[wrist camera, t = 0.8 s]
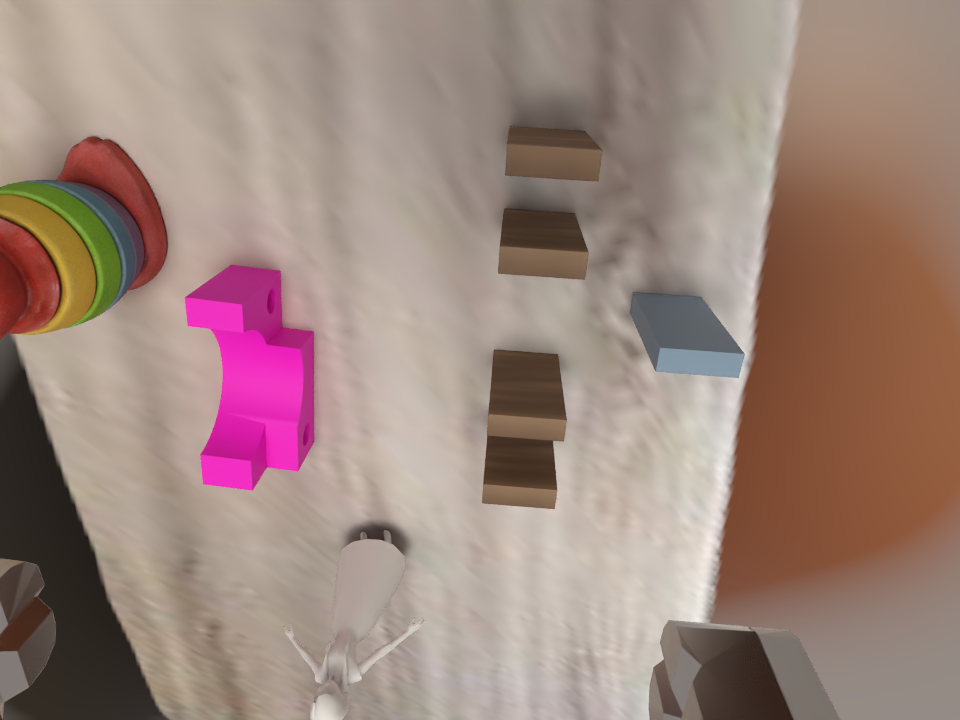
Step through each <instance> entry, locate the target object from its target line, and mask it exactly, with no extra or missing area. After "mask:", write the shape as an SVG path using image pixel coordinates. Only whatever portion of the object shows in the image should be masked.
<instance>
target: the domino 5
mask: <svg viewBox="0 0 960 720" xmlns="http://www.w3.org/2000/svg"><path fill="white" fill-rule="evenodd" d="M630 314H631V316H632V318H633V321H634V323H635V325H636V328H637V330H638V332H639V334H640V337H641V339H642V341H643V344H644V346H645V348H646V351H647V353H648V355H649V357H650V360H651V362H652V364H653V367H654V369H655V371H656V372H667V373H680V374H693V375H707V376H720V377H733V378H739V374H740V370H741V366H742V362H743V359H744V355H745V354H744V352H743V351H742V350H741V349H740V347H739V346H738V345H737V343H736V342H735V341H734V339H733V338H732V337H731V335H730V334H729V333H728V332H727V330H726V329H725V328H724V326H723V325H722V324H721V322H720V321H719V320H718V318H717V317H716V316H715V315H714V313H713V312H712V311H711V309H710V308H709V307H708V305H707V304H706V303H705V301H704V300H703V299H702V298H701V297H691V296H677V295H663V294H649V293H635V292H633V298H632V303H631V309H630Z"/></svg>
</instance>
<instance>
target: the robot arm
mask: <svg viewBox="0 0 960 720" xmlns="http://www.w3.org/2000/svg"><path fill="white" fill-rule="evenodd" d="M43 586H44V582H43V579H42V576H41V573H40V571H39V568H38V565H35V564H31V563H27V562H24V561H16V560H7V559H0V720H3V706H4V702H5V701H7V700H9V699H10V698H12V697H14V696H15V695H17V694H19V693H20V692H22V691H24V690H25V689H27V688H29V687H30V685H31V684H32V683H33V681H34V680H35V679H36V677H37V676H38V675H39V674H40V672H41V671H42V670H43V668H44V667H45V665H46V663H47V660H48V658H49V656H50V653H51V651H52V648H53V646H54V643H55V632H56V623H55V620H54V616H53V612H52V610H51V609H50V608H49V607H48V606H47V605H46V604H44V603H43V602H42V601H41V600H40V599H39V598H38V597H37V595H38V594H39V592H40V591H41V589H42V588H43ZM660 644H661V648H662V652H663V656H664V660H663V661H661V662H660V663H659V664H657V665H656V666H655V667H654V668H653V673H652V678H651V682H650V690H649V716H650V720H840V718H839V716H838V714H837V712H836V710H835V709H834V706H833V704H832V702H831V701H830V699H829V697H828V695H827V693H826V691H825V689H824V687H823V685H822V683H821V681H820V679H819V677H818V675H817V673H816V672H815V669H814V667H813V665H812V663H811V661H810V659H809V657H808V656H807V653H806V651H805V649H804V647H803V646H802V644H801V642H800V639H799V638H798V637H797V636H796V635H795V634H794V633H793V632H792V631H791V630H782V629H769V628H757V627H749V628H747V627H745V626H734V625H721V624H709V623H697V622H685V621H673V620H669V621H668V622H667V624H666V625H665V627H664V629H663V633H662V637H661V640H660Z"/></svg>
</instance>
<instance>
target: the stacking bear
mask: <svg viewBox="0 0 960 720" xmlns="http://www.w3.org/2000/svg"><path fill="white" fill-rule="evenodd" d="M166 250H167V242H166V234H165V228H164V224H163V220H162V217H161V213H160V210H159V208H158V205H157V203H156V200H155V198H154V196H153V194H152V192H151V190H150V188H149V186H148V184H147V183H146V181H145V179H144V178H143V176H142V175H141V173H140V172H139V170H138V169H137V168H136V166H135V165H134V164H133V162H132V161H131V160H130V159H129V158H128V157H127V155H126V154H125V153H124V152H123V151H122V150H121V149H120V148H119V147H118V146H116V145H115V144H114V143H113V142H111V141H109V140H103V141H102V140H100V139H98V138H96V137H88V138H86V139H84V140H82V141H81V142H80V143H79V144H76V145H75V146H73V147H72V148H71V150H70V152H69V154H68V156H67V158H66V162H65V165H64V169H63V171H62V173H61V175H60V176H59V178H58V179H57V180H56V181H55V180H35V181H24V182H19V183H13V184H8V185H5V186H3V187H0V339H1V338H2V337H3V336H4V335H6V334H7V333H11V334H24V335H32V334H41V333H47V332H52V331H56V330H59V329H63V328H68V327H72V326H75V325H78V324H81V323H84V322H86V321H88V320H91V319H93V318H95V317H97V316H99V315H100V314H102V313H104V312H105V311H107V310H108V309H109V308H111V307H112V306H113V305H114V304H115V303H116V302H117V301H118V300H119V299H120V298H121V297H122V296H123V295H124V294H125V293H126V291H127V290H132V289H135V288H138V287H140V286H142V285H144V284H146V283H148V282H149V281H150V280H152V279H153V278H154V277H155V276H156V275H157V273H158V272H159V271H160V269H161V267H162V265H163V263H164V260H165V256H166Z"/></svg>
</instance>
